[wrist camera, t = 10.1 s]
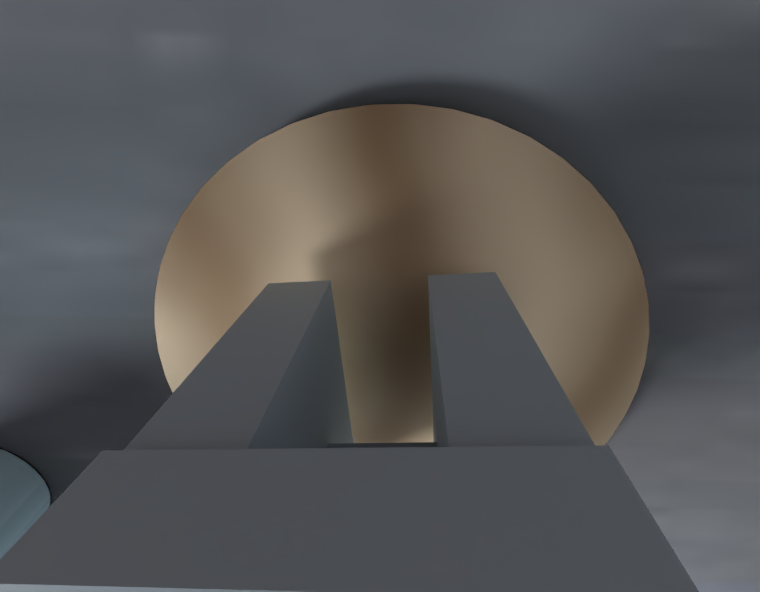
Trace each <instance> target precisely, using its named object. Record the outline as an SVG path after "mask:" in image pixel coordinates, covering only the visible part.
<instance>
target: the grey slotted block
mask: <svg viewBox="0 0 760 592" xmlns="http://www.w3.org/2000/svg"><path fill="white" fill-rule="evenodd" d="M428 292H429V322H430V352H431V382H432V411H433V441H434V442H407V443H353V436H352V429H351V421H350V414H349V407H348V400H347V393H346V386H345V379H344V371H343V364H342V357H341V350H340V343H339V336H338V328H337V321H336V314H335V307H334V300H333V293H332V286H331V280H325V281H306V282H286V283H268V284H267V286H266V287H265V288H264V289H263V290H262V291H261V292H260V294H259V295H258V296H257V297H256V298H255V299H254V301H253V302H252V303H251V304H250V305H249V306H248V307H247V309H246V310H245V311H244V312H243V313H242V314H241V315H240V317H239V318H238V319H237V320H236V321H235V322H234V323H233V325H232V326H231V327H230V328H229V329H228V330H227V332H226V333H225V334H224V335H223V336H222V337H221V338H220V340H219V341H218V342H217V343H216V344H215V345H214V346H213V348H212V349H211V350H210V351H209V352H208V353H207V354H206V356H205V357H204V358H203V359H202V360H201V361H200V363H199V364H198V365H197V366H196V367H195V368H194V369H193V371H192V372H191V373H190V374H189V375H188V376H187V377H186V379H185V380H184V381H183V382H182V383H181V384H180V385H179V387H178V388H177V389H176V390H175V391H174V392H173V394H172V395H171V396H170V397H169V398H168V399H167V400H166V402H165V403H164V404H163V405H162V406H161V407H160V408H159V410H158V411H157V412H156V413H155V414H154V415H153V416H152V418H151V419H150V420H149V421H148V422H147V423H146V425H145V426H144V427H143V428H142V429H141V430H140V431H139V433H138V434H137V435H136V436H135V437H134V438H133V439H132V441H131V442H130V443H129V444H128V445H127V446H126V447H125V449H124V450H102V451H101V452H100V453H99V454H98V456H97V457H96V458H95V459H94V460H93V461H92V462H91V463H90V464H89V465H88V466H87V467H86V468H85V469H84V471H83V472H82V473H81V474H80V475H79V476H78V477H77V478H76V479H75V480H74V481H73V482H72V483H71V484H70V485H69V487H68V488H67V489H66V490H65V491H64V492H63V493H62V494H61V495H60V496H59V497H58V498H57V499H56V500H55V502H54V503H53V504H52V505H51V506H50V507H49V508H48V509H47V510H46V511H45V512H44V513H43V514H42V515H41V517H40V518H39V519H38V520H37V521H36V522H35V523H34V524H33V525H32V526H31V527H30V528H29V529H28V530H27V532H26V533H25V534H24V535H23V536H22V537H21V538H20V539H19V540H18V541H17V542H16V543H15V544H14V545H13V547H12V548H11V549H10V550H9V551H8V552H7V553H6V554H5V555H4V556H3V557H2V558H1V559H0V592H699V591H698V590H697V588H696V586H695V585H694V583H693V581H692V580H691V578H690V577H689V575H688V573H687V572H686V570H685V568H684V567H683V565H682V564H681V562H680V560H679V559H678V557H677V555H676V554H675V552H674V551H673V549H672V547H671V546H670V544H669V543H668V541H667V539H666V538H665V536H664V534H663V533H662V531H661V530H660V528H659V526H658V525H657V523H656V521H655V520H654V518H653V517H652V515H651V513H650V512H649V510H648V508H647V507H646V505H645V504H644V502H643V500H642V499H641V497H640V495H639V494H638V492H637V491H636V489H635V487H634V486H633V484H632V483H631V481H630V479H629V478H628V476H627V474H626V473H625V471H624V470H623V468H622V466H621V465H620V463H619V461H618V460H617V458H616V457H615V455H614V453H613V452H612V450H611V448H610V447H609V445H595V444H594V443H593V441H592V439H591V437H590V436H589V434H588V432H587V430H586V429H585V427H584V425H583V423H582V422H581V420H580V418H579V416H578V415H577V413H576V411H575V410H574V408H573V406H572V404H571V403H570V401H569V399H568V397H567V396H566V394H565V392H564V390H563V389H562V387H561V385H560V383H559V382H558V380H557V378H556V376H555V375H554V373H553V371H552V370H551V368H550V366H549V364H548V363H547V361H546V359H545V357H544V356H543V354H542V352H541V350H540V349H539V347H538V345H537V343H536V342H535V340H534V338H533V337H532V335H531V333H530V331H529V330H528V328H527V326H526V324H525V323H524V321H523V319H522V317H521V316H520V314H519V312H518V310H517V309H516V307H515V305H514V303H513V302H512V300H511V298H510V297H509V295H508V293H507V291H506V290H505V288H504V286H503V284H502V283H501V281H500V279H499V277H498V276H497V274H496V272H483V273H464V274H444V275H428Z"/></svg>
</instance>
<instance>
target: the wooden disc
mask: <svg viewBox="0 0 760 592" xmlns="http://www.w3.org/2000/svg"><path fill="white" fill-rule="evenodd" d="M483 272H496V274H497V276H498V277H499V279H500V281H501V283H502V284H503V286H504V288H505V290H506V291H507V293H508V295H509V297H510V298H511V300H512V302H513V303H514V305H515V307H516V309H517V310H518V312H519V314H520V316H521V317H522V319H523V321H524V323H525V324H526V326H527V328H528V330H529V331H530V333H531V335H532V337H533V338H534V340H535V342H536V343H537V345H538V347H539V349H540V350H541V352H542V354H543V356H544V357H545V359H546V361H547V363H548V364H549V366H550V368H551V370H552V371H553V373H554V375H555V376H556V378H557V380H558V382H559V383H560V385H561V387H562V389H563V390H564V392H565V394H566V396H567V397H568V399H569V401H570V403H571V404H572V406H573V408H574V410H575V411H576V413H577V415H578V416H579V418H580V420H581V422H582V423H583V425H584V427H585V429H586V430H587V432H588V434H589V436H590V437H591V439H592V441H593V443H594V444H595V445H605V444H606V443H607V441H608V440H609V439H610V438H611V436H612V435H613V433H614V432H615V430H616V429H617V427H618V426H619V424H620V423H621V421H622V420H623V418H624V417H625V415H626V413H627V411H628V409H629V406H630V404H631V402H632V400H633V398H634V396H635V394H636V392H637V389H638V386H639V382H640V379H641V376H642V373H643V369H644V366H645V362H646V355H647V348H648V341H649V302H648V297H647V291H646V286H645V281H644V275H643V272H642V269H641V266H640V263H639V261H638V258H637V255H636V252H635V250H634V247H633V244H632V242H631V240H630V238H629V236H628V235H627V233H626V231H625V229H624V228H623V226H622V224H621V222H620V221H619V219H618V217H617V215H616V214H615V212H614V211H613V209H612V208H611V207H610V206H609V205H608V203H607V202H606V201H605V200H604V198H603V197H602V196H601V195H600V193H599V192H598V191H597V190H596V189H595V187H594V186H593V185H592V184H591V183H590V182H589V181H588V180H587V179H586V178H585V177H584V176H582V175H581V174H580V173H579V172H578V171H577V170H576V169H575V168H573V167H572V166H571V165H570V164H569V163H568V162H567V161H566V160H564V159H563V158H562V157H560V156H559V155H557V154H556V153H554V152H553V151H551V150H549V149H548V148H546V147H545V146H543V145H542V144H540V143H539V142H537V141H536V140H534V139H532V138H531V137H529V136H527V135H525V134H522V133H520V132H518V131H516V130H513V129H511V128H509V127H507V126H504V125H502V124H500V123H498V122H496V121H493V120H490V119H487V118H483V117H479V116H476V115H472V114H469V113H465V112H461V111H458V110H454V109H448V108H440V107H433V106H425V105H417V104H375V105H364V106H358V107H352V108H346V109H340V110H334V111H329V112H326V113H323V114H320V115H317V116H313V117H310V118H307V119H304V120H301V121H298V122H295V123H292V124H290V125H288V126H286V127H284V128H282V129H280V130H278V131H276V132H274V133H272V134H270V135H268V136H266V137H264V138H262V139H260V140H258V141H256V142H255V143H253V144H252V145H251V146H249V147H248V148H246V149H245V150H244V151H242V152H241V153H239V154H238V155H236V156H235V157H234V158H232V159H231V160H229V161H228V162H227V163H226V164H225V165H224V166H223V167H222V168H221V169H220V170H219V171H218V172H217V173H216V174H215V175H214V176H213V177H212V178H211V179H210V180H208V181H207V182H206V183H205V184H204V185H203V187H202V188H201V189H200V191H199V192H198V193H197V195H196V196H195V197H194V199H193V200H192V201H191V203H190V204H189V205H188V207H187V208H186V209H185V211H184V212H183V214H182V216H181V218H180V220H179V222H178V224H177V225H176V227H175V229H174V231H173V233H172V235H171V237H170V239H169V241H168V244H167V247H166V250H165V253H164V256H163V259H162V262H161V265H160V269H159V275H158V281H157V287H156V293H155V331H156V338H157V346H158V352H159V356H160V359H161V363H162V366H163V370H164V373H165V377H166V379H167V381H168V384H169V386H170V388H171V391H172V393H173V392H174V391H175V390H176V389H177V388H178V387H179V385H180V384H181V383H182V382H183V381H184V380H185V379H186V377H187V376H188V375H189V374H190V373H191V372H192V371H193V369H194V368H195V367H196V366H197V365H198V364H199V363H200V361H201V360H202V359H203V358H204V357H205V356H206V354H207V353H208V352H209V351H210V350H211V349H212V348H213V346H214V345H215V344H216V343H217V342H218V341H219V340H220V338H221V337H222V336H223V335H224V334H225V333H226V332H227V330H228V329H229V328H230V327H231V326H232V325H233V323H234V322H235V321H236V320H237V319H238V318H239V317H240V315H241V314H242V313H243V312H244V311H245V310H246V309H247V307H248V306H249V305H250V304H251V303H252V302H253V301H254V299H255V298H256V297H257V296H258V295H259V294H260V292H261V291H262V290H263V289H264V288H265V287H266V286H267V284H268V283H286V282H306V281H325V280H331V286H332V293H333V300H334V307H335V314H336V321H337V328H338V336H339V343H340V350H341V357H342V364H343V371H344V379H345V386H346V393H347V400H348V407H349V414H350V421H351V429H352V436H353V443H407V442H434V441H433V411H432V382H431V352H430V322H429V292H428V275H444V274H464V273H483Z"/></svg>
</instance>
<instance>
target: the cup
mask: <svg viewBox="0 0 760 592" xmlns="http://www.w3.org/2000/svg"><path fill="white" fill-rule="evenodd" d="M49 506H50V492H49V489H48V487H47V485H46V483H45V481H44V480H43V478H42V477H41V476H40V475H39V474H38V473H37V472H36V470H35V469H33V468H32V467H31V466H30V465H29V464H27V463H26V462H25V461H23V460H22V459H20V458H19V457H17V456H15V455H13V454H11V453H9V452H7V451H5V450H2V449H0V559H1V558H2V557H3V556H4V555H5V554H6V553H7V552H8V551H9V550H10V549H11V548H12V547H13V545H14V544H15V543H16V542H17V541H18V540H19V539H20V538H21V537H22V536H23V535H24V534H25V533H26V532H27V530H28V529H29V528H30V527H31V526H32V525H33V524H34V523H35V522H36V521H37V520H38V519H39V518H40V517H41V515H42V514H43V513H44V512H45V511H46V510H47V509H48V508H49Z"/></svg>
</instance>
